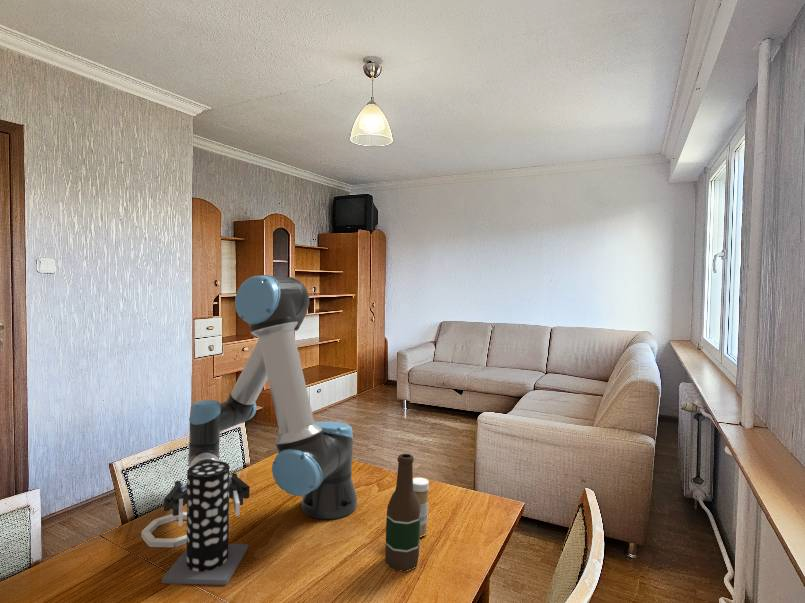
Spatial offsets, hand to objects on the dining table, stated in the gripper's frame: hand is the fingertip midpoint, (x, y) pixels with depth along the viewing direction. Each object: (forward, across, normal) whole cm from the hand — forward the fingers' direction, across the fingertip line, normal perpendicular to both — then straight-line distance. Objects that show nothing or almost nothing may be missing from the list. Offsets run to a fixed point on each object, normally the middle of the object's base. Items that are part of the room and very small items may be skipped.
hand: (209, 514), depth 95 cm
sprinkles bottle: (+2, -48, -13) cm, 50 cm away
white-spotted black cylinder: (-4, 0, -12) cm, 13 cm away
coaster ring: (-22, +6, -13) cm, 26 cm away
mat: (-4, 0, -13) cm, 14 cm away
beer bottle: (+11, -39, -13) cm, 43 cm away
